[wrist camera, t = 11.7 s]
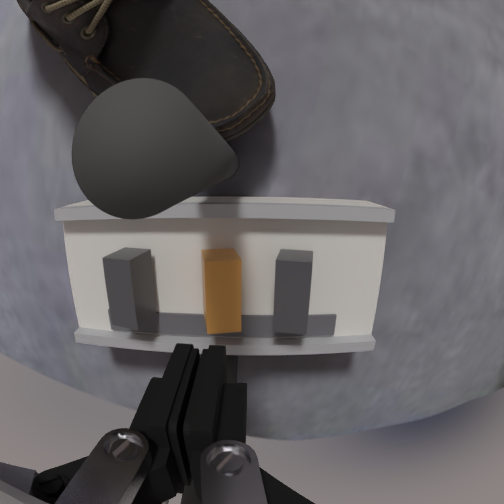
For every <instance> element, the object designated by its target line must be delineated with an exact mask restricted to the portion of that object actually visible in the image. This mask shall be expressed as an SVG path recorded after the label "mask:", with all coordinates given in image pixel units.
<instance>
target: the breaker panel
mask: <svg viewBox="0 0 504 504" xmlns="http://www.w3.org/2000/svg"><path fill="white" fill-rule="evenodd" d="M54 213H55V221H63V228H64V238H65V247H66V255H67V262H68V269H69V275H70V282H71V287H72V293H73V298H74V303H75V308H76V313H77V318H78V323H79V328H78V329H77V330H76V331H75V332H74V336H75V340H76V342H78V343H85V344H92V345H100V346H108V347H117V348H126V349H136V350H147V351H159V352H173V350H174V348H175V345H176V344H177V343H184V344H193V346H194V348H198V349H199V353H200V354H202V350H203V349H208V348H209V345H225V346H226V355H306V354H328V353H345V352H359V351H371V350H374V347H375V342H376V340H375V339H374V337H373V336H372V334H371V333H372V328H373V322H374V317H375V312H376V306H377V300H378V294H379V287H380V281H381V274H382V266H383V259H384V250H385V241H386V232H387V222H392V223H394V217H395V210H394V209H391V208H388V207H385V206H382V205H378V204H375V203H372V202H369V201H360V200H342V199H321V198H293V197H241V196H200V197H190V198H188V199H186V200H184V201H182V202H180V203H178V204H176V205H174V206H172V207H170V208H169V209H167V210H165V211H163V212H161V213H159V214H157V215H154V216H151V217H147V218H143V219H122V218H117V217H114V216H111V215H109V214H107V213H105V212H103V211H101V210H100V209H98V208H97V207H96V206H94V205H93V204H92V203H91V202H90V201H89V200H86V201H82V202H79V203H75V204H71V205H67V206H64V207H60V208H56V209H54ZM124 247H127V248H141V249H151V260H152V272H153V283H154V294H155V303H156V312H157V313H156V314H155V315H154V316H153V317H152V318H151V319H150V320H149V321H148V322H147V323H146V324H145V325H144V326H142V327H141V328H140V329H139V330H134V329H129V328H125V327H120V326H115V325H112V321H111V315H110V309H109V303H108V297H107V290H106V283H105V276H104V268H103V260H102V258H103V257H105V256H107V255H109V254H111V253H113V252H116V251H118V250H120V249H122V248H124ZM230 248H234V249H235V251H236V252H237V254H238V255H239V257H240V258H241V332H230V333H217V334H207V330H206V324H205V319H204V309H203V287H202V260H201V250H206V249H230ZM280 249H291V250H306V251H313V265H312V278H311V291H310V302H309V313H308V323H307V333H306V335H305V334H293V333H282V332H273V312H274V289H275V264H276V258H277V256H278V254H279V252H280Z"/></svg>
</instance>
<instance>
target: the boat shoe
mask: <svg viewBox="0 0 504 504" xmlns="http://www.w3.org/2000/svg"><path fill="white" fill-rule="evenodd" d="M17 2H18V4H19V6H20V7H21V9H22V10H23V12H24V13H25V14H26V16H27V17H28V18H29V19H30V20H31V24H32V25H33V27H34V29H35V30H36V31H37V32H38V33H39V34H40V35H41V37H42V38H43V39H44V40H45V41H46V43H47V44H48V45H49V46H50V47H51V48H52V49H54V50H55V51H57V52H59V54H60V55H61V56H62V58H63V59H64V61H65V62H66V63H67V65H68V66H69V68H70V69H71V70H72V71H73V73H74V74H75V75H76V76H77V77H78V78H79V79H80V80H81V81H82V83H83V84H84V85H86V86H87V87H88V89H89V90H90V91H91V92H92V94H93V95H94V96H95V97H98V96H99V95H100V94H101V93H102V92H104V91H105V90H107V89H108V88H110V87H112V86H114V85H116V84H118V83H120V82H123V81H126V80H131V79H137V78H150V79H156V80H160V81H163V82H166V83H168V84H170V85H172V86H174V87H176V88H177V89H178V90H180V91H181V92H182V93H183V94H184V95H185V96H186V97H187V98H188V99H189V100H190V101H191V102H192V103H193V104H194V106H195V107H196V108H197V109H198V110H199V111H200V112H201V113H202V115H203V116H204V117H205V118H206V119H207V120H208V121H209V123H210V124H211V125H212V126H213V127H214V128H215V129H216V131H217V132H218V133H219V134H220V135H221V136H222V138H223V139H224V140H225V141H229V140H232V139H234V138H236V137H238V136H240V135H242V134H244V133H245V132H247V131H248V130H250V129H251V128H252V127H254V126H255V125H256V124H257V123H258V122H259V121H260V120H261V119H262V118H263V117H264V116H265V115H266V114H267V113H268V111H269V110H270V109H271V107H272V105H273V103H274V101H275V82H274V79H273V76H272V74H271V72H270V70H269V68H268V66H267V65H266V63H265V62H264V60H263V59H262V57H261V56H260V54H259V53H258V51H257V50H256V49H255V48H254V47H253V45H252V44H251V43H250V42H249V41H248V40H247V39H246V37H245V36H244V35H243V34H242V33H241V32H240V31H239V30H238V29H237V28H236V27H235V26H234V25H233V24H232V23H231V22H230V21H229V20H228V19H227V18H226V17H225V16H224V15H223V14H222V13H221V12H220V11H219V10H218V9H217V8H216V7H215V6H214V5H213V4H211V3H210V2H209V1H208V0H17Z"/></svg>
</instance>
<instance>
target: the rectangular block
mask: <svg viewBox="0 0 504 504" xmlns="http://www.w3.org/2000/svg"><path fill="white" fill-rule="evenodd" d="M201 260H202V287H203V309H204V319H205V324H206V330H207V334H217V333H230V332H241V258H240V257H239V255H238V254H237V252H236V251H235V249H234V248H230V249H206V250H201Z"/></svg>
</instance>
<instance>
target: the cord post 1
mask: <svg viewBox="0 0 504 504" xmlns="http://www.w3.org/2000/svg"><path fill="white" fill-rule="evenodd" d="M72 165H73V170H74V174H75V177H76V180H77V182H78V185H79V187H80V189H81V190H82V192H83V194H84V195H85V196H86V197H87V199H88V200H89V201H90V202H91V203H92V204H93V205H94V206H96V207H97V208H98V209H100V210H101V211H103V212H105V213H107V214H109V215H111V216H114V217H117V218H122V219H143V218H147V217H151V216H154V215H157V214H159V213H161V212H163V211H165V210H167V209H169V208H170V207H172V206H174V205H176V204H178V203H180V202H182V201H184V200H186V199H188V198H190V197H192V196H194V195H196V194H198V193H199V192H201V191H203V190H205V189H207V188H209V187H211V186H214V185H216V184H218V183H220V182H222V181H224V180H226V179H228V178H230V177H232V176H233V175H234V174H235V173H236V171H237V170H238V167H239V159H238V156H237V154H236V153H235V152H234V150H233V149H232V148H231V147H230V146H229V145H228V143H227V142H226V141H225V140H224V139H223V138H222V136H221V135H220V134H219V133H218V132H217V131H216V129H215V128H214V127H213V126H212V125H211V124H210V123H209V121H208V120H207V119H206V118H205V117H204V116H203V115H202V113H201V112H200V111H199V110H198V109H197V108H196V107H195V106H194V104H193V103H192V102H191V101H190V100H189V99H188V98H187V97H186V96H185V95H184V94H183V93H182V92H181V91H180V90H178V89H177V88H176V87H174V86H172V85H170V84H168V83H166V82H163V81H160V80H156V79H150V78H137V79H131V80H126V81H123V82H120V83H118V84H116V85H114V86H112V87H110V88H108V89H107V90H105V91H104V92H102V93H101V94H100V95H99V96H98V97H96V98H95V99H94V100H93V102H92V103H91V104H90V105H89V106H88V108H87V109H86V110H85V112H84V113H83V115H82V117H81V119H80V121H79V123H78V125H77V128H76V131H75V134H74V138H73V144H72Z"/></svg>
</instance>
